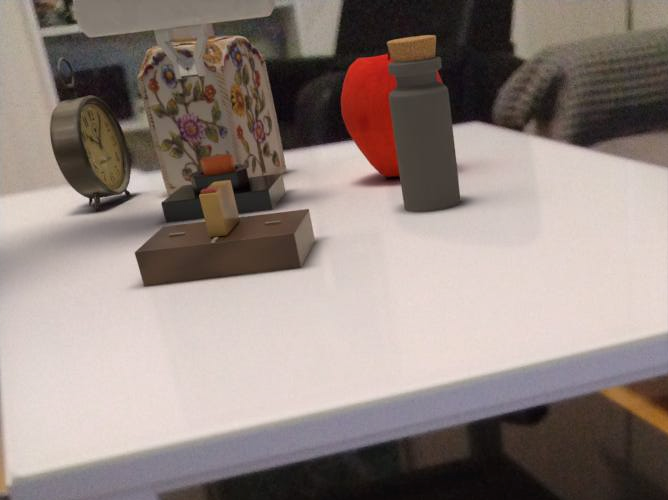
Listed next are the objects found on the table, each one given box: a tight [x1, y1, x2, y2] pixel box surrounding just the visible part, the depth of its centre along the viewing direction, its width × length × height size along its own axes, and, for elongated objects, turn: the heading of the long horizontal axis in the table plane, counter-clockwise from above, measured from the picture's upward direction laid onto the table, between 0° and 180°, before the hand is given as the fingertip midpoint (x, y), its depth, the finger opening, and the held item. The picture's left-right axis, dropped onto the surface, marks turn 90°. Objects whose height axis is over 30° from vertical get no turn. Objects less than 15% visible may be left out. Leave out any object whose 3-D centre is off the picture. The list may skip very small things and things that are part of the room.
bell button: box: [200, 154, 236, 175], centre depth 114 cm, size 4×4×2 cm
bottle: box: [386, 34, 461, 213], centre depth 101 cm, size 6×6×15 cm
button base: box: [160, 164, 287, 224], centre depth 116 cm, size 12×10×4 cm
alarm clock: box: [49, 56, 132, 213], centre depth 123 cm, size 11×5×16 cm, turn 171°
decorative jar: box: [136, 23, 287, 196], centre depth 125 cm, size 12×12×18 cm
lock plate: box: [134, 208, 316, 287], centre depth 92 cm, size 14×10×3 cm
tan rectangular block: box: [199, 180, 240, 237], centre depth 90 cm, size 6×2×4 cm, turn 0°
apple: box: [340, 47, 444, 178], centre depth 117 cm, size 12×12×13 cm
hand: (191, 77), depth 109 cm, fingers closed
